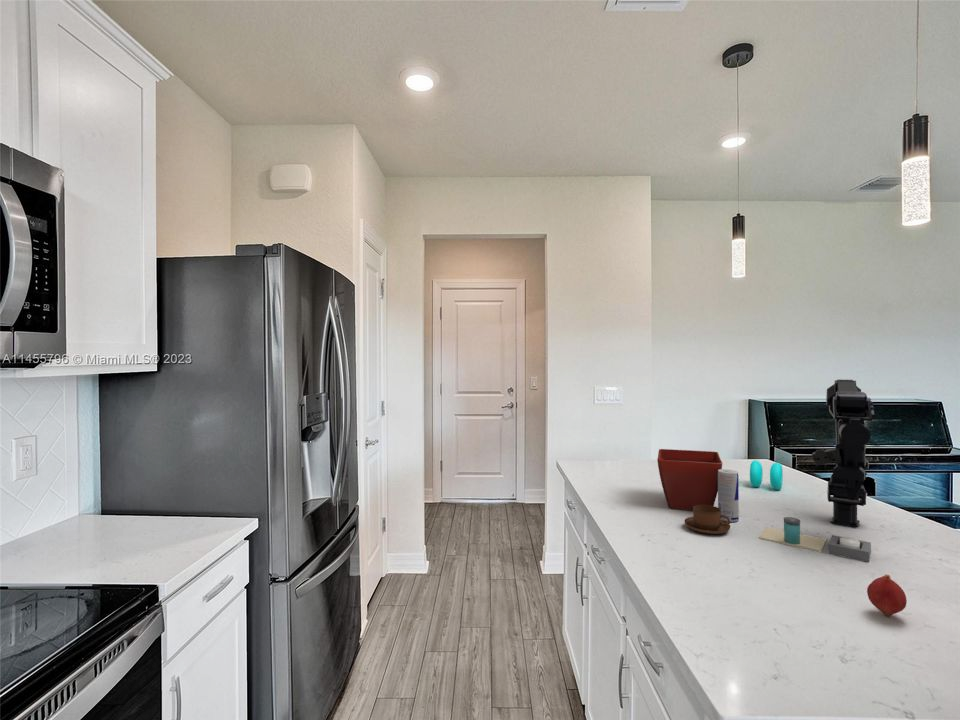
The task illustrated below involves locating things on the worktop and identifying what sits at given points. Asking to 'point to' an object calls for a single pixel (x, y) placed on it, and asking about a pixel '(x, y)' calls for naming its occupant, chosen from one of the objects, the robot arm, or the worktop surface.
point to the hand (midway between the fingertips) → (851, 500)
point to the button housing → (849, 549)
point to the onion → (886, 595)
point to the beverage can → (728, 494)
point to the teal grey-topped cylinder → (792, 530)
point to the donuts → (757, 475)
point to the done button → (849, 542)
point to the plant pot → (689, 477)
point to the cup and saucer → (707, 520)
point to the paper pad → (805, 542)
